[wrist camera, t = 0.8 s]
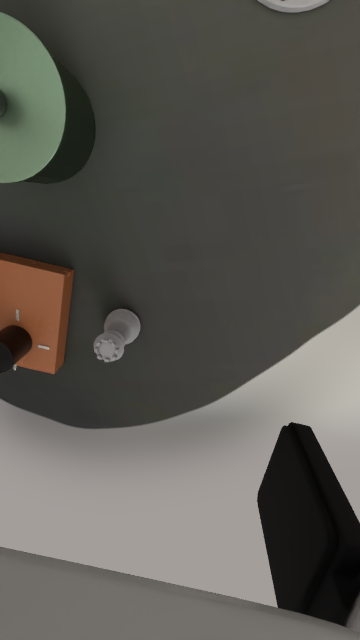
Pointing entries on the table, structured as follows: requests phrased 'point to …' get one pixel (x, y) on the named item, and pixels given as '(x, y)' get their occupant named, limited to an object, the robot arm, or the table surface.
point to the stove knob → (13, 346)
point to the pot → (71, 134)
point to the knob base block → (37, 308)
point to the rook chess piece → (116, 334)
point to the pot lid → (28, 103)
